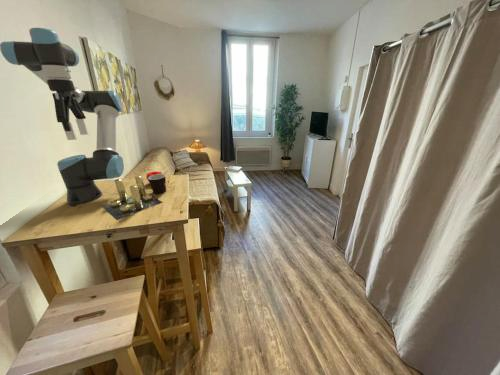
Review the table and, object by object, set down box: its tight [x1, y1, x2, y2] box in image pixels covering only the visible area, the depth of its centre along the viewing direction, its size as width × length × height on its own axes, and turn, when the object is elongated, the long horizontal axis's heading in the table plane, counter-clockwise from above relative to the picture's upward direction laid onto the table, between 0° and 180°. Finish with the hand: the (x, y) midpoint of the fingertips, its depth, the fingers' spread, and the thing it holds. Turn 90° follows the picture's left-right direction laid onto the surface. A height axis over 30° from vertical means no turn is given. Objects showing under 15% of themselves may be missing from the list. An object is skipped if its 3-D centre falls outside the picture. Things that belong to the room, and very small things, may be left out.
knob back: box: [109, 178, 129, 207], centre depth 102 cm, size 9×4×11 cm, turn 170°
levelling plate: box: [101, 196, 163, 221], centre depth 103 cm, size 20×21×3 cm
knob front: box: [120, 184, 143, 212], centre depth 96 cm, size 9×4×11 cm, turn 110°
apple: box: [145, 171, 163, 184], centre depth 128 cm, size 9×9×8 cm
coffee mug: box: [148, 173, 167, 195], centre depth 116 cm, size 12×9×10 cm
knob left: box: [134, 175, 154, 201], centre depth 107 cm, size 9×4×11 cm, turn 50°
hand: (79, 137), depth 87 cm, fingers open, 13 cm apart
